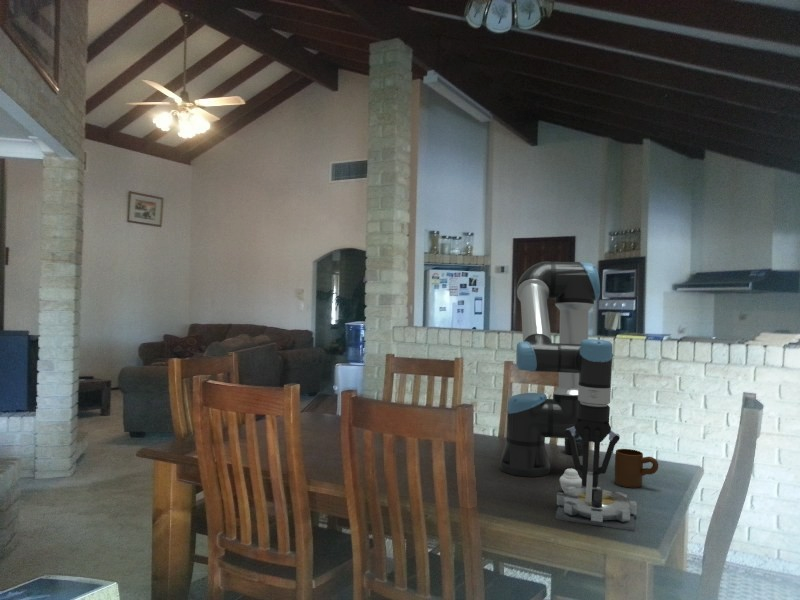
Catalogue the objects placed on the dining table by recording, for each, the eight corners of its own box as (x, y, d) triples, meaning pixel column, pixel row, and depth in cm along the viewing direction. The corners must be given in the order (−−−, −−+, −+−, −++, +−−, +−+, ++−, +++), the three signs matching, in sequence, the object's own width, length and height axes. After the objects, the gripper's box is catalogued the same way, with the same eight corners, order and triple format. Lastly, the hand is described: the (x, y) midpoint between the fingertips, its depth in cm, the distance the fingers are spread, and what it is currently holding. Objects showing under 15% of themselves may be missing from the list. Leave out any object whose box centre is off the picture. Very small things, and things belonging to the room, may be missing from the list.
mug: (661, 487, 175) (662, 455, 175) (653, 494, 170) (654, 460, 169) (619, 478, 183) (621, 447, 183) (610, 484, 177) (611, 451, 177)
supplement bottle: (587, 452, 211) (588, 418, 211) (581, 457, 205) (582, 421, 205) (567, 449, 215) (568, 415, 215) (561, 453, 209) (562, 418, 209)
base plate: (555, 518, 149) (555, 514, 149) (562, 495, 166) (562, 491, 166) (634, 530, 143) (634, 526, 143) (633, 505, 160) (633, 501, 160)
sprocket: (555, 515, 148) (556, 489, 148) (558, 491, 166) (558, 467, 166) (639, 526, 143) (640, 499, 142) (633, 500, 161) (633, 475, 161)
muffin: (568, 498, 164) (569, 472, 164) (554, 491, 170) (555, 466, 169) (587, 496, 166) (588, 470, 166) (572, 488, 172) (573, 464, 172)
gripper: (564, 403, 148) (560, 500, 148) (621, 409, 143) (616, 509, 144) (567, 398, 155) (563, 491, 155) (622, 403, 150) (617, 499, 151)
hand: (588, 499), depth 149 cm, fingers closed
